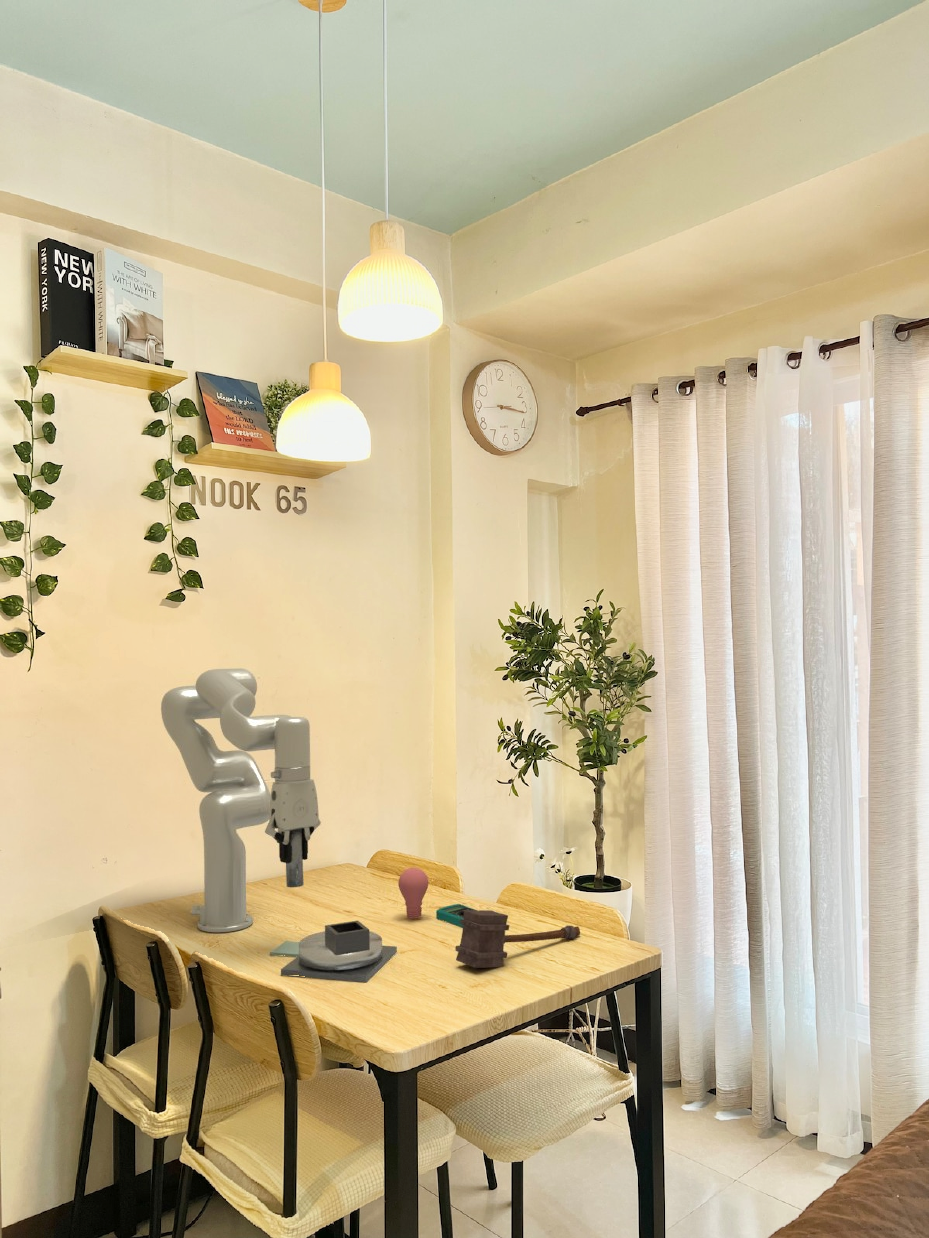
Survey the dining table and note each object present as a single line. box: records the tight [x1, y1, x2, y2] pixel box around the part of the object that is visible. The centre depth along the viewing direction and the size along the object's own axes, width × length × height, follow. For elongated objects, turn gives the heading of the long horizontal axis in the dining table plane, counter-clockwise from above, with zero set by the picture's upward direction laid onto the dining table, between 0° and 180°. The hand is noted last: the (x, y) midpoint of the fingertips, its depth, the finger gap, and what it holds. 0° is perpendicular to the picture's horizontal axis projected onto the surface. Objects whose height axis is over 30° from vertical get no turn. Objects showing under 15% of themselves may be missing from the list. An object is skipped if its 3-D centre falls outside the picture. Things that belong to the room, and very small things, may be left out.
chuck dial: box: [298, 920, 383, 970], centre depth 188 cm, size 17×17×7 cm
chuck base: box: [280, 945, 398, 983], centre depth 188 cm, size 18×18×1 cm
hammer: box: [454, 909, 581, 969], centre depth 193 cm, size 7×33×10 cm, turn 130°
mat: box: [269, 940, 300, 957], centre depth 196 cm, size 8×8×1 cm
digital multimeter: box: [435, 903, 476, 929], centre depth 215 cm, size 7×15×3 cm, turn 39°
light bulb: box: [398, 867, 429, 919], centre depth 219 cm, size 7×7×12 cm
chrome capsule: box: [285, 828, 304, 888], centre depth 197 cm, size 4×4×12 cm
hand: (293, 859), depth 197 cm, fingers closed on chrome capsule, 3 cm apart
